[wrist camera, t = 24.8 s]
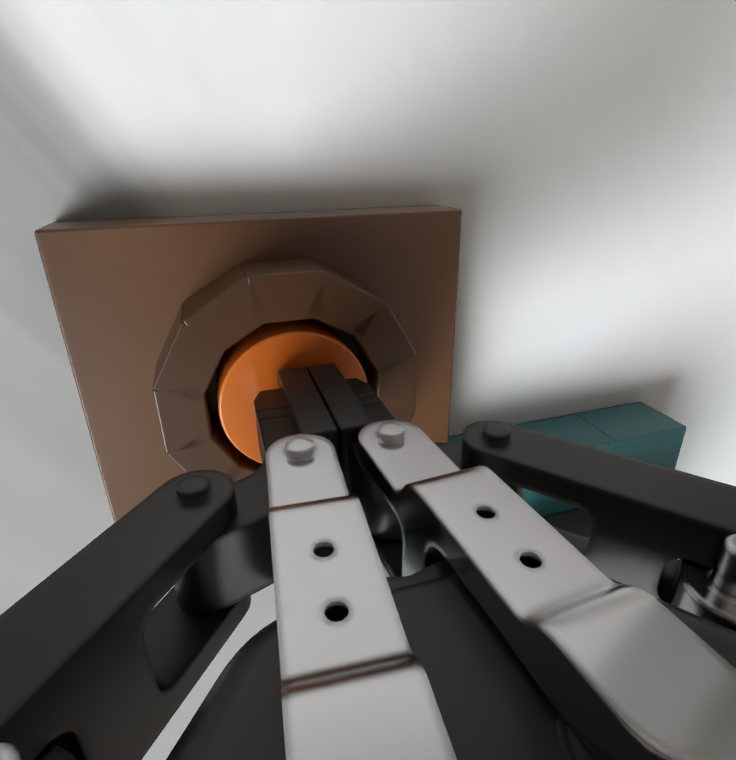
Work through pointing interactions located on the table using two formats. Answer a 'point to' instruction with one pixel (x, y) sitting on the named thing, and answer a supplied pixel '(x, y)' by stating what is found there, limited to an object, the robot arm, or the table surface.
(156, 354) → the switch box
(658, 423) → the teal square frame
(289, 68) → the table surface
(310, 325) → the power button
